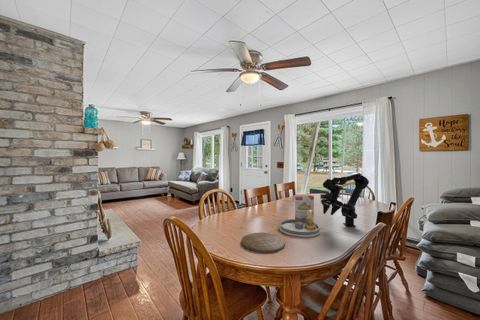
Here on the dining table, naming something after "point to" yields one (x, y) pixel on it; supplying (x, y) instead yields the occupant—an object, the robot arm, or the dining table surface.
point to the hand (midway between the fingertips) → (327, 214)
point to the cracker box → (303, 206)
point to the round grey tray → (298, 228)
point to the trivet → (263, 242)
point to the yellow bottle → (310, 220)
